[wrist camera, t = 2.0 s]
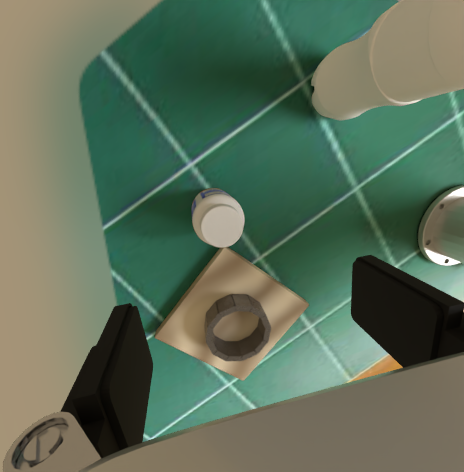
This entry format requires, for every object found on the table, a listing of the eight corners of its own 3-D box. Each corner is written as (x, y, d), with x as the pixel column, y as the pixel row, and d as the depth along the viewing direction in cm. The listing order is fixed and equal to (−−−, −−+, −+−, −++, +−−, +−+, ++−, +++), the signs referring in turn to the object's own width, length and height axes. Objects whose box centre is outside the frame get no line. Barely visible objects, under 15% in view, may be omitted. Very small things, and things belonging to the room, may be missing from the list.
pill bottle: (214, 236, 33) (225, 266, 24) (182, 211, 31) (180, 232, 22) (242, 205, 33) (263, 224, 23) (210, 177, 31) (220, 186, 22)
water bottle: (296, 116, 30) (673, -31, 7) (312, 48, 28) (906, -476, 5) (348, 129, 32) (801, 45, 8) (366, 65, 30) (1016, -274, 6)
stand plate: (304, 299, 38) (309, 304, 37) (241, 373, 41) (243, 380, 39) (223, 243, 34) (224, 247, 32) (156, 330, 36) (154, 337, 34)
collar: (275, 312, 36) (283, 324, 34) (239, 354, 38) (243, 370, 35) (229, 283, 34) (233, 294, 31) (192, 329, 35) (193, 344, 32)
